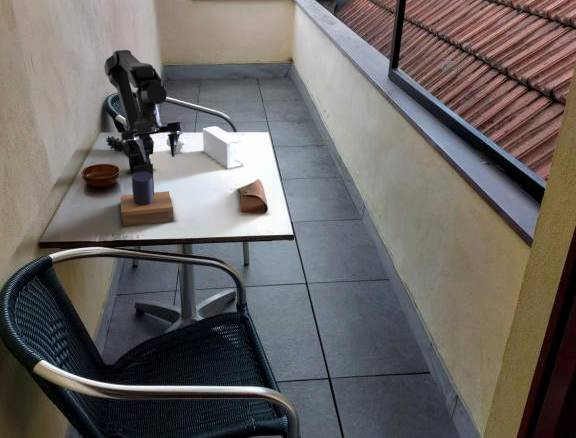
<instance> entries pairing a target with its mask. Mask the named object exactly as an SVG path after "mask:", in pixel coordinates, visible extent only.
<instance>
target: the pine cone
mask: <svg viewBox="0 0 576 438" xmlns="http://www.w3.org/2000/svg"><path fill="white" fill-rule="evenodd" d="M105 139H106V140H105V142H107V146H109V147H110V150H112V149H113V150H114V152H118V153H122V154H124V149H123V148H124V145H125V142H126V140H123V141H122V139H120V138H119V137H117V138H115V136H114V135H112V136H111V137H110V136H107V137H105Z"/></svg>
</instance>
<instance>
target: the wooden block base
mask: <svg viewBox="0 0 576 438" xmlns="http://www.w3.org/2000/svg"><path fill="white" fill-rule="evenodd" d="M119 196H120V212H121V220H122V227H130V226H139V225H141V226H142V225H150V224H158V223H169V222H174V221H175V218H174V206H173V202H172V198H171V194H170V191H168V190H167V191H154V195H153V202H152V203H150V204H148V205H139V204H136V203H135V202H134V200H133V194H123V195H122V194H121V195H119Z"/></svg>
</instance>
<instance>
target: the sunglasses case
mask: <svg viewBox="0 0 576 438" xmlns="http://www.w3.org/2000/svg"><path fill="white" fill-rule="evenodd" d="M237 192H238V195H239V204H240V205H239V210H240V211H239V212H240V213H241V214H247V215H265V214H267V212H268V211H269V205H268V201H267V196H266V193H265V188H264V185H263V182H262V181H261V179H260V178H257V179H255V180H254V181H253V182H250V183H248V184H246V185H243V186H241V187H239V188H237Z"/></svg>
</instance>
